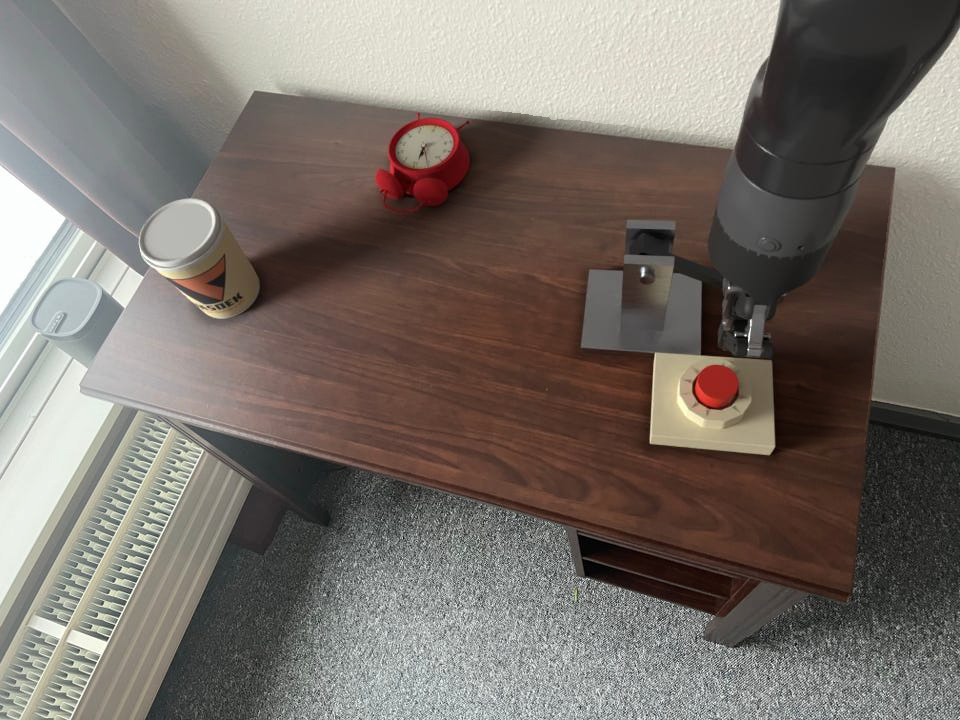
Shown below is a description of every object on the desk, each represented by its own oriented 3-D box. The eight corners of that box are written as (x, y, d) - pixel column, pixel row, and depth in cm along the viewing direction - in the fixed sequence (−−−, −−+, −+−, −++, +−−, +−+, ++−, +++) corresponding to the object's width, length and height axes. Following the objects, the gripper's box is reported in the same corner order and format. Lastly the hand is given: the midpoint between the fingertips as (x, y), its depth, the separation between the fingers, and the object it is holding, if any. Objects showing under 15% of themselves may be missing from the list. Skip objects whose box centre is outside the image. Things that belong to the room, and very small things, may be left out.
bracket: (700, 280, 74) (719, 200, 62) (699, 361, 69) (719, 291, 58) (589, 275, 76) (588, 197, 65) (580, 352, 71) (578, 284, 60)
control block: (767, 370, 67) (776, 351, 64) (770, 455, 63) (780, 439, 60) (653, 362, 70) (656, 343, 66) (649, 444, 66) (652, 428, 62)
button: (734, 375, 64) (738, 365, 62) (735, 410, 62) (739, 401, 61) (695, 372, 65) (697, 362, 63) (694, 406, 63) (697, 397, 61)
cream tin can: (191, 332, 80) (131, 273, 70) (195, 269, 85) (140, 205, 75) (266, 316, 80) (217, 254, 70) (267, 254, 85) (221, 187, 74)
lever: (750, 289, 68) (774, 272, 65) (751, 318, 67) (775, 302, 64) (627, 244, 65) (646, 224, 62) (624, 273, 63) (644, 254, 60)
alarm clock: (480, 116, 85) (431, 183, 76) (483, 159, 90) (437, 228, 81) (406, 105, 88) (351, 169, 80) (413, 147, 93) (362, 212, 84)
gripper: (853, 297, 39) (780, 417, 54) (837, 130, 45) (775, 280, 60) (716, 290, 40) (682, 408, 55) (718, 129, 46) (687, 275, 61)
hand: (730, 341), depth 58 cm, fingers closed
